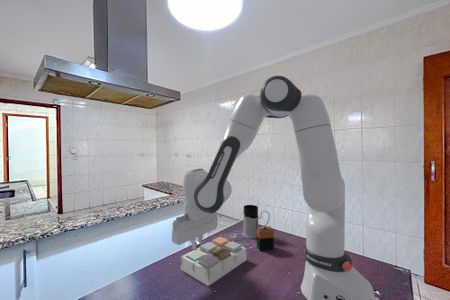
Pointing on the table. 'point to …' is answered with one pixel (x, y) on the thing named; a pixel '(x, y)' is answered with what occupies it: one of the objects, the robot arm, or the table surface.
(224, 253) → the key walnut
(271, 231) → the battery
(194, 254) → the key sage
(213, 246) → the keypad
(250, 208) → the glass holder
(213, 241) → the key terracotta
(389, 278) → the table surface
